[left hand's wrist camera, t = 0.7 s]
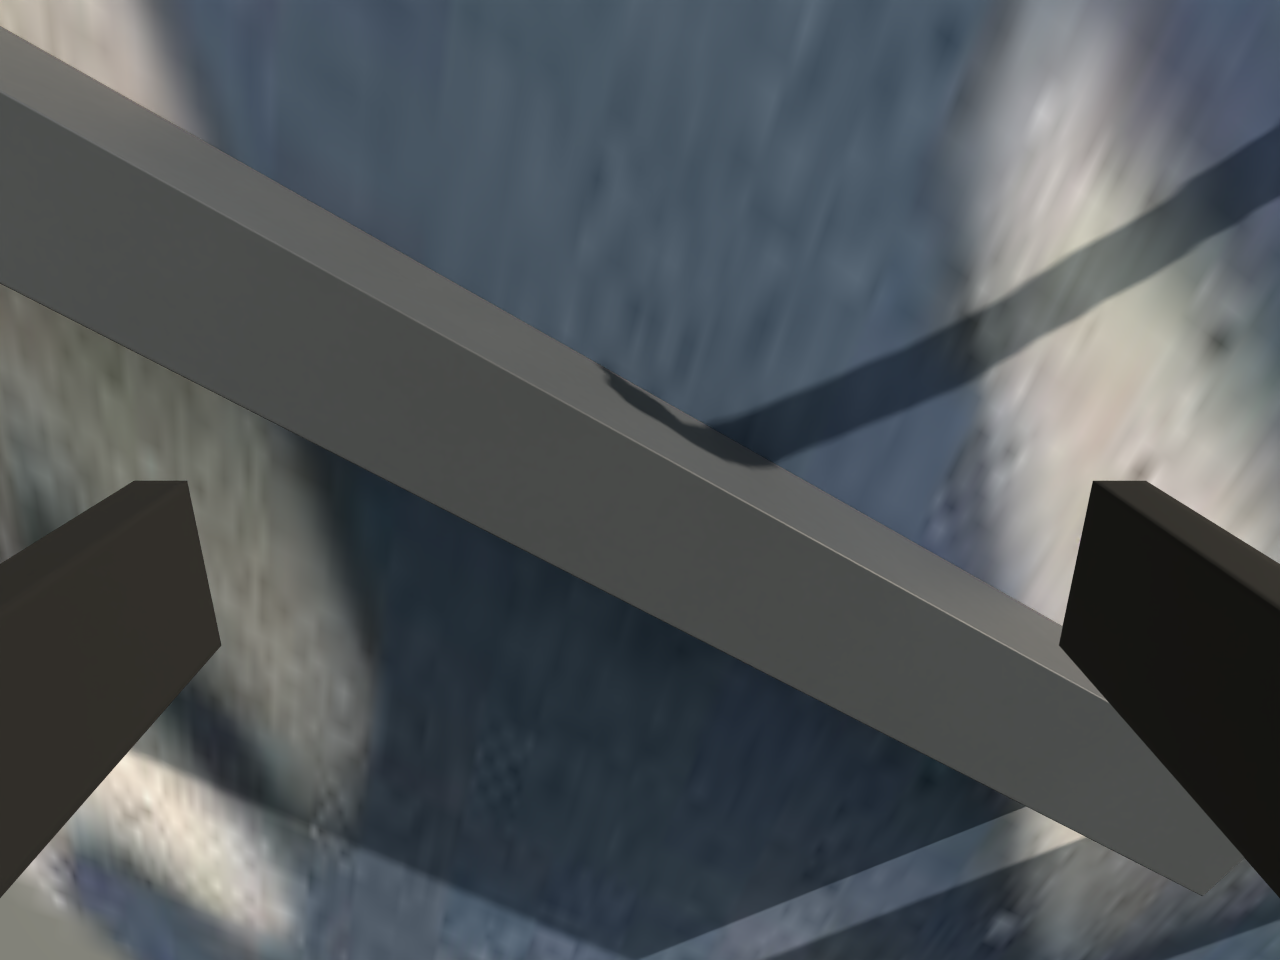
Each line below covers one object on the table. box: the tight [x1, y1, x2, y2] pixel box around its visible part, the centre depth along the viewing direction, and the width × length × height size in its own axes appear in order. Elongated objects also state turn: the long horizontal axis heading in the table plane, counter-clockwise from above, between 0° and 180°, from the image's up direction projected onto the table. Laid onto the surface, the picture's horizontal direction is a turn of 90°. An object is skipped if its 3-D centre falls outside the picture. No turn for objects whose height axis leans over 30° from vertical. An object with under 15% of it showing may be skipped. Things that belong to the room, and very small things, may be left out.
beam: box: [0, 26, 1244, 896], centre depth 34 cm, size 66×6×8 cm, turn 60°
